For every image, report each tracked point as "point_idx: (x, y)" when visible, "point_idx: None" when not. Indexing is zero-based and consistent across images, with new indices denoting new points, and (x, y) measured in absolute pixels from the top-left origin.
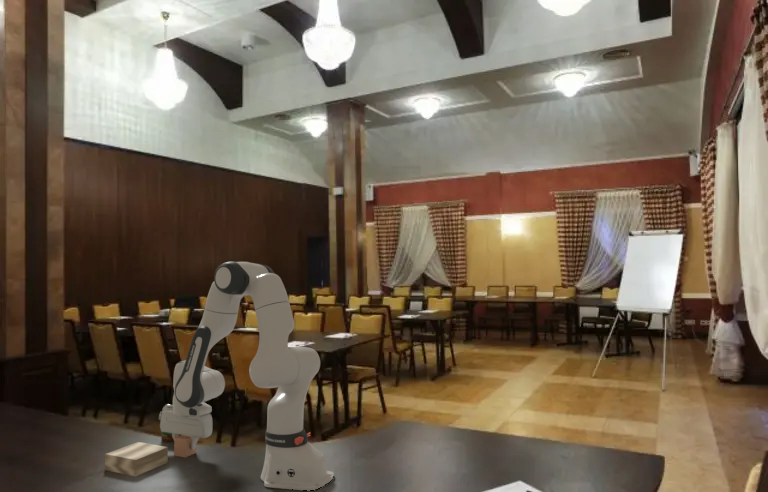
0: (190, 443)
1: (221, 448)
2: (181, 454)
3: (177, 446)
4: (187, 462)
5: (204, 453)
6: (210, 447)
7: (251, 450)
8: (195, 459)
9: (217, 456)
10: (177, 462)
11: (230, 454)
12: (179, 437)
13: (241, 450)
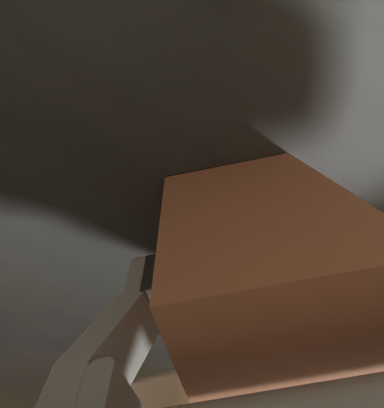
0: None
1: None
2: (209, 175)
3: (287, 194)
4: (32, 112)
5: None
6: None
7: (3, 403)
8: (63, 197)
9: (21, 301)
10: (102, 47)
11: (8, 346)
12: (353, 301)
13: (35, 387)
